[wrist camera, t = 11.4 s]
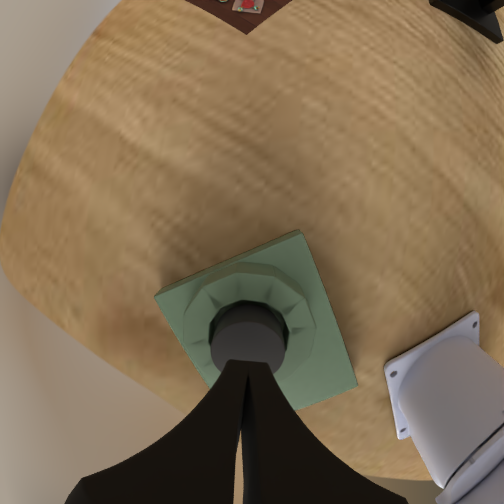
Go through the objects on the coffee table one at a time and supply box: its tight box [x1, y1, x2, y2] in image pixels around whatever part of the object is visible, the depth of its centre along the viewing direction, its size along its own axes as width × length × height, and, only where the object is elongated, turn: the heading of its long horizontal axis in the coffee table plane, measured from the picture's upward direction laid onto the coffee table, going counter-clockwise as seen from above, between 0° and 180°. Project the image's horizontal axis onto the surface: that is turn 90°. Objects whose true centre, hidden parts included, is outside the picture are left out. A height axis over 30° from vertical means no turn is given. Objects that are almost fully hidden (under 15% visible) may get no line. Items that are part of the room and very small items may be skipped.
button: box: [210, 304, 285, 374], centre depth 12 cm, size 3×3×2 cm
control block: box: [154, 229, 358, 411], centre depth 14 cm, size 10×8×3 cm
